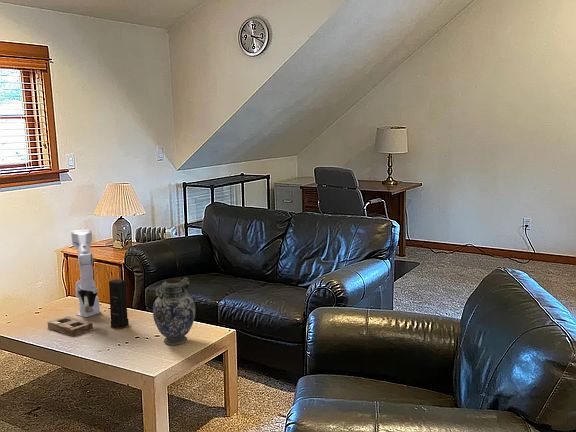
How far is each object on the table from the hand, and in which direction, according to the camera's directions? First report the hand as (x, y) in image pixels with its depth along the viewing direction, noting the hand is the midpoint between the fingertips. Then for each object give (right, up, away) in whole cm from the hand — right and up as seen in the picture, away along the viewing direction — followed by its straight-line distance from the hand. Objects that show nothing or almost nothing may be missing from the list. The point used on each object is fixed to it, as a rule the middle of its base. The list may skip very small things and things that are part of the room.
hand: (88, 305), depth 276 cm
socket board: (-8, -11, -3) cm, 14 cm away
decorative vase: (+46, -13, -22) cm, 53 cm away
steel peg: (0, -3, 0) cm, 3 cm away
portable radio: (+15, -10, -1) cm, 18 cm away
